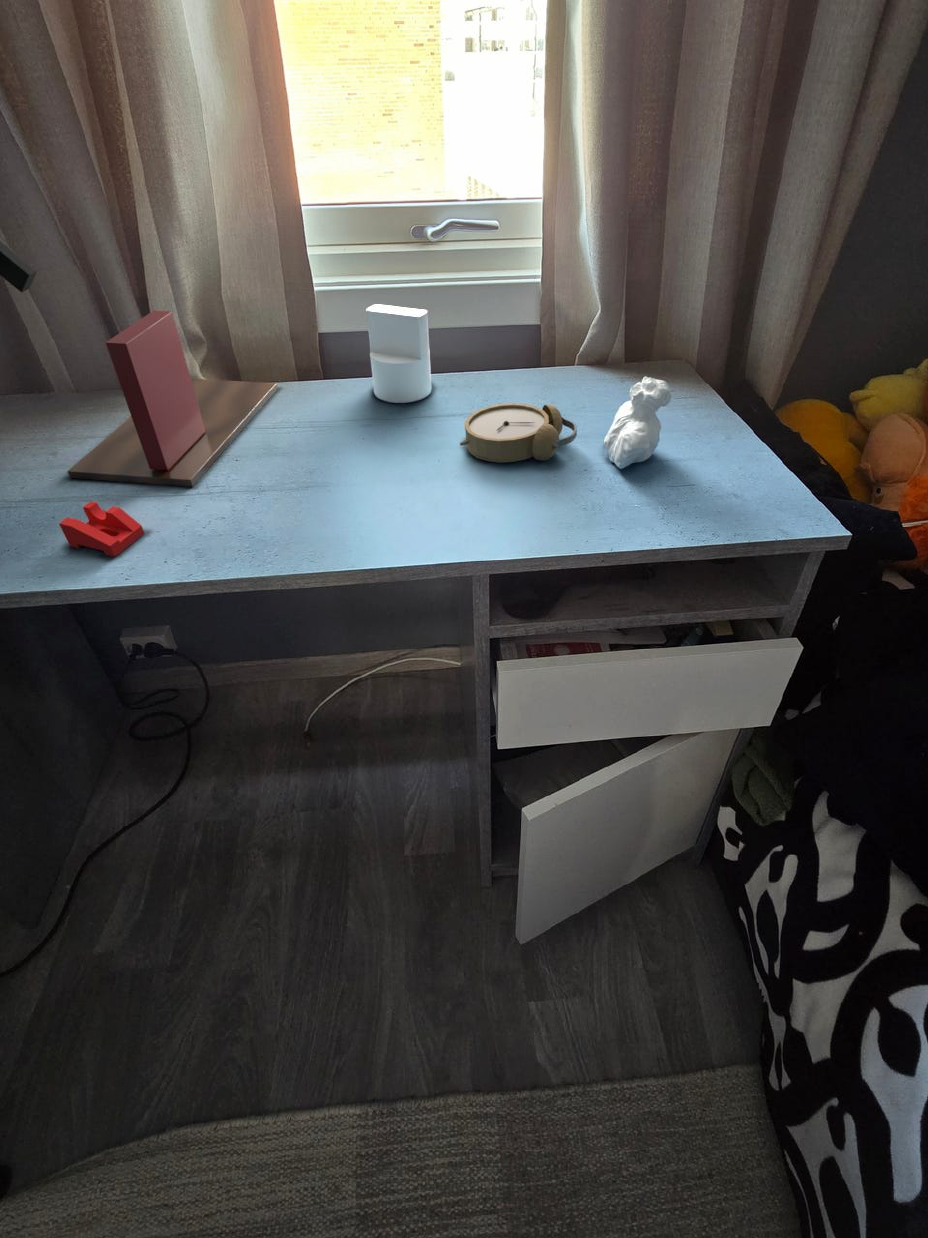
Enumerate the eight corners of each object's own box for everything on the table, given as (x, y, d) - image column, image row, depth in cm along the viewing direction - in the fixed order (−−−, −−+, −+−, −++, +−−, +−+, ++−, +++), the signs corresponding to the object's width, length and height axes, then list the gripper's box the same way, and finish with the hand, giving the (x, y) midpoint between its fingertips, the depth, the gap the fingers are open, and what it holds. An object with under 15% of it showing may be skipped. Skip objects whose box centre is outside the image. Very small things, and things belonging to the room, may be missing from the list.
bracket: (69, 545, 78) (58, 523, 76) (100, 523, 81) (90, 501, 79) (114, 556, 76) (105, 534, 74) (144, 533, 79) (135, 511, 77)
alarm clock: (471, 403, 97) (578, 392, 92) (477, 435, 100) (581, 426, 96) (454, 440, 88) (570, 430, 84) (461, 474, 92) (574, 466, 87)
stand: (70, 478, 89) (67, 471, 88) (177, 383, 111) (176, 377, 110) (192, 486, 87) (190, 479, 86) (277, 388, 109) (276, 382, 108)
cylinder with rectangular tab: (363, 397, 106) (354, 316, 98) (390, 375, 112) (383, 297, 104) (416, 406, 103) (411, 323, 95) (440, 383, 109) (437, 304, 101)
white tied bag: (632, 493, 88) (702, 430, 81) (588, 458, 85) (657, 390, 79) (626, 448, 97) (689, 388, 90) (586, 415, 94) (648, 351, 88)
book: (149, 469, 88) (105, 342, 77) (189, 429, 96) (153, 310, 85) (168, 470, 88) (125, 343, 77) (205, 430, 96) (172, 310, 85)
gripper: (-242, 74, 64) (2, 273, 73) (-130, 66, 73) (73, 242, 82) (-251, 143, 68) (-19, 323, 77) (-144, 127, 78) (51, 288, 86)
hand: (29, 281), depth 80 cm, fingers closed
